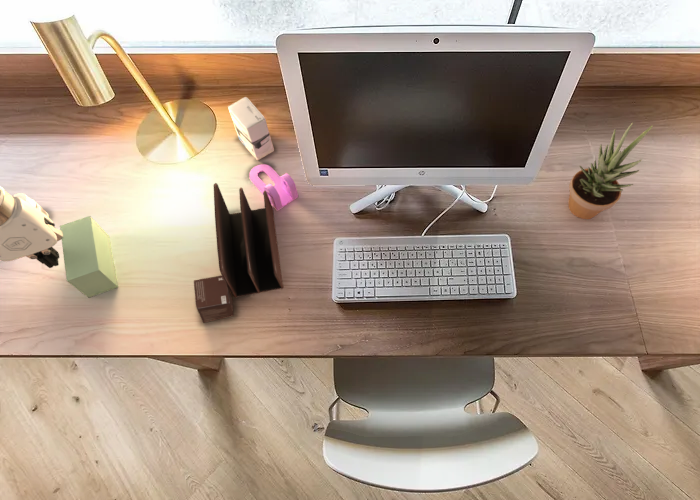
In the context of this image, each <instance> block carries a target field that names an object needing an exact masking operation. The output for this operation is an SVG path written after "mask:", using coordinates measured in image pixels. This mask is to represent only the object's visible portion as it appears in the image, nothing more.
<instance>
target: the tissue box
mask: <svg viewBox="0 0 700 500" xmlns="http://www.w3.org/2000/svg"><path fill="white" fill-rule="evenodd" d="M59 230H61V231H62V232H63V237H64V238H63V239H61V245H62V254H63V262H64V270H65V277H66V278H65V279H66V282H67V283H68V284H70V285H71V286H73V288H75V289H76V290H77V291H79V292H80V293H82V294H83V295H84V296H86V297H87V298H92V297H95V296H98V295H100V294H103V293H107V292H109V291H112V290H115V289H118V288H119V282H118V278H117V271H116V266H115V260H114V256H113V255H114V254H113V250H112V244H111V237H110V235H109V234H108V233H107V232H106V231H105V230H104V229H103V228H102V226H100V225H99V223H98V222H96V220H95V219H94V218H93V217H92V216H91V215H88V216H86V217H82V218H79V219H77V220H74V221H70V222H68V223H67V222H66V223H65V224H62V225H59Z"/></svg>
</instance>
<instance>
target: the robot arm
mask: <svg viewBox="0 0 700 500" xmlns="http://www.w3.org/2000/svg"><path fill="white" fill-rule="evenodd" d="M12 196H13V195H11V193H9V192H7V191H6V190H5V189H4V188H3V186H1V185H0V261H1V262H4V263H5V262H6V263H7V262H12V261H15V260H18V259H22V258H25V257H26V258H28V259H30V260H37V261H38V262H40V263H41V264H42V265H44V266H46V267H47V268H48V269H52V268H54V267H58V266H59V265H60V264H59V259H60V253H59V251H58V250H56V249H55V248H54V246H55V245H56V244H57V243H58V242H60V241H62V239H63V238H64V237H63V232H62V231H61V230H60V228H57V227H55V226H56V223H55V222H54V221H53V220H52V219H51V218H50V217H47V216H46V215H45V214H44V213H42V212H41V211H40V210H38V209H37V208H35V207H34V206H33V205H31V204H29V203H28V202H26V201H24V200H22V199H20V198H18V197H12Z"/></svg>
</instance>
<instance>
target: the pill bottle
mask: <svg viewBox="0 0 700 500" xmlns="http://www.w3.org/2000/svg"><path fill="white" fill-rule="evenodd" d="M11 196H12V197H18V198H20V199H22V200H24V201H26V202H28V203H29V204H31V205H33V206H34V207H35V208H37V209H38V210H40V211H41V212H42V213H44V214H45V215H46V216H47V217H49V216H50V215H49V213H48V212H47V211H46V210H45V209H43V207H42V206H41V205H40V204H38V203H37V202H36V200H34V199H33V198H30V197H29V196H28V195H26V193H23V192H18V193H14V194H13V195H11ZM49 218H50V217H49Z"/></svg>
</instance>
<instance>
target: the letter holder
mask: <svg viewBox="0 0 700 500" xmlns="http://www.w3.org/2000/svg"><path fill="white" fill-rule="evenodd" d="M238 191H239V192H238V193H239V208H240V212H234V213H230V211H229V209H228V206H227V204H226V201H225V199H224V196H223V194H222V191H221V189H220V187H219V184H218V183H217V182H215V183H213V207H214V222H215V223H214V225H215V235H216V236H215V237H216V249H217V258H218V260H217V261H218V268H219V269H218V270H219V272H220V276H221V275H222V277H223V279H224V280H225V282H226V284H227V285H228V287H229V289H230V291H231V295H232V297H233V298H240V297H245V296H249V295H250V296H251V295H254V294H255V295H256V294H260V293H261V294H262V293H266V292H271V291H276V290H282V289H284V282H283V275H282V269H281V261H280V253H279V246H278V245H279V244H278V239H277V230H276V222H275V217H274V216H275V215H274V206H273V205H272V204H271V202H270V200H269V197H268V195H267V192H266V191H264V192H263V194H264V195H263V194H262V195H263V204H264V207H263V208H257V209H252V208H251V206H250V204H249V202H248V199H247V196H246V194H245V192H244V189H243V187H239V189H238Z"/></svg>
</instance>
